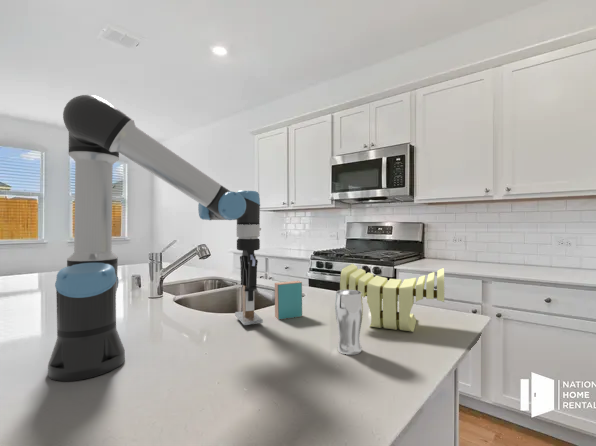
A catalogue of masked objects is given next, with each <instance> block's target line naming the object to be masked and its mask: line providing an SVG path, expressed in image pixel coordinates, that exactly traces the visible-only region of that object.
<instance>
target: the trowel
mask: <svg viewBox="0 0 596 446" xmlns="http://www.w3.org/2000/svg"><path fill="white" fill-rule="evenodd" d="M244 289H247V288H246V285H243V288H242V311H235V312H234V316H236V318H237V319H238V320H239V321H240V322H241V323H242V325H243V326H248V325H255V324H262V323H263V322H264V320H263V318H262V317H260V316H259V315H258V314H257V313H256V311H255V309H254V310H253V311H246V291H244Z"/></svg>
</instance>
